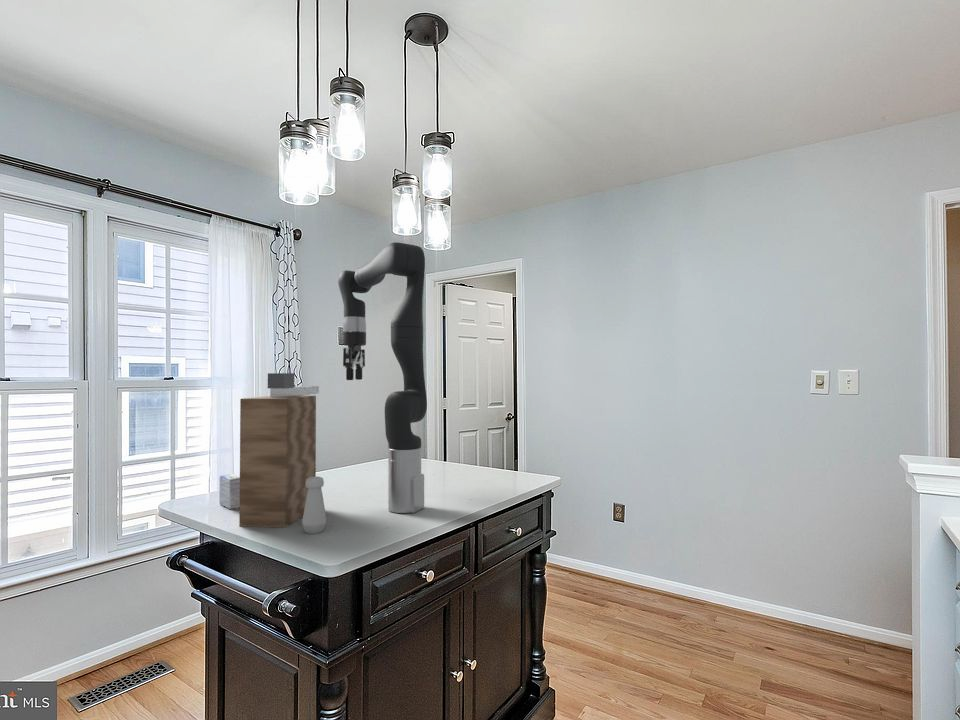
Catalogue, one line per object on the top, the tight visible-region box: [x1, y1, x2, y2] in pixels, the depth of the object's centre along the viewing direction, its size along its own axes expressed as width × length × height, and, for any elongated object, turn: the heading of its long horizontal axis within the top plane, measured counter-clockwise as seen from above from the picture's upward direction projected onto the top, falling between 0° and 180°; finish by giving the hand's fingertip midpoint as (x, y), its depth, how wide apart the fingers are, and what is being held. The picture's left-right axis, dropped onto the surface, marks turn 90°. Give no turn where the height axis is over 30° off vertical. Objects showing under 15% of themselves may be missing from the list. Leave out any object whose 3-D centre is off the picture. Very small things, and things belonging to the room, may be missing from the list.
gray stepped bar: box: [267, 372, 320, 398], centre depth 147 cm, size 24×4×6 cm, turn 174°
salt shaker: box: [301, 476, 328, 535], centre depth 124 cm, size 6×6×13 cm
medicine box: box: [219, 473, 240, 510], centre depth 148 cm, size 8×4×9 cm, turn 47°
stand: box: [238, 395, 317, 528], centre depth 137 cm, size 18×12×32 cm, turn 174°
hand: (354, 379), depth 169 cm, fingers open, 8 cm apart
